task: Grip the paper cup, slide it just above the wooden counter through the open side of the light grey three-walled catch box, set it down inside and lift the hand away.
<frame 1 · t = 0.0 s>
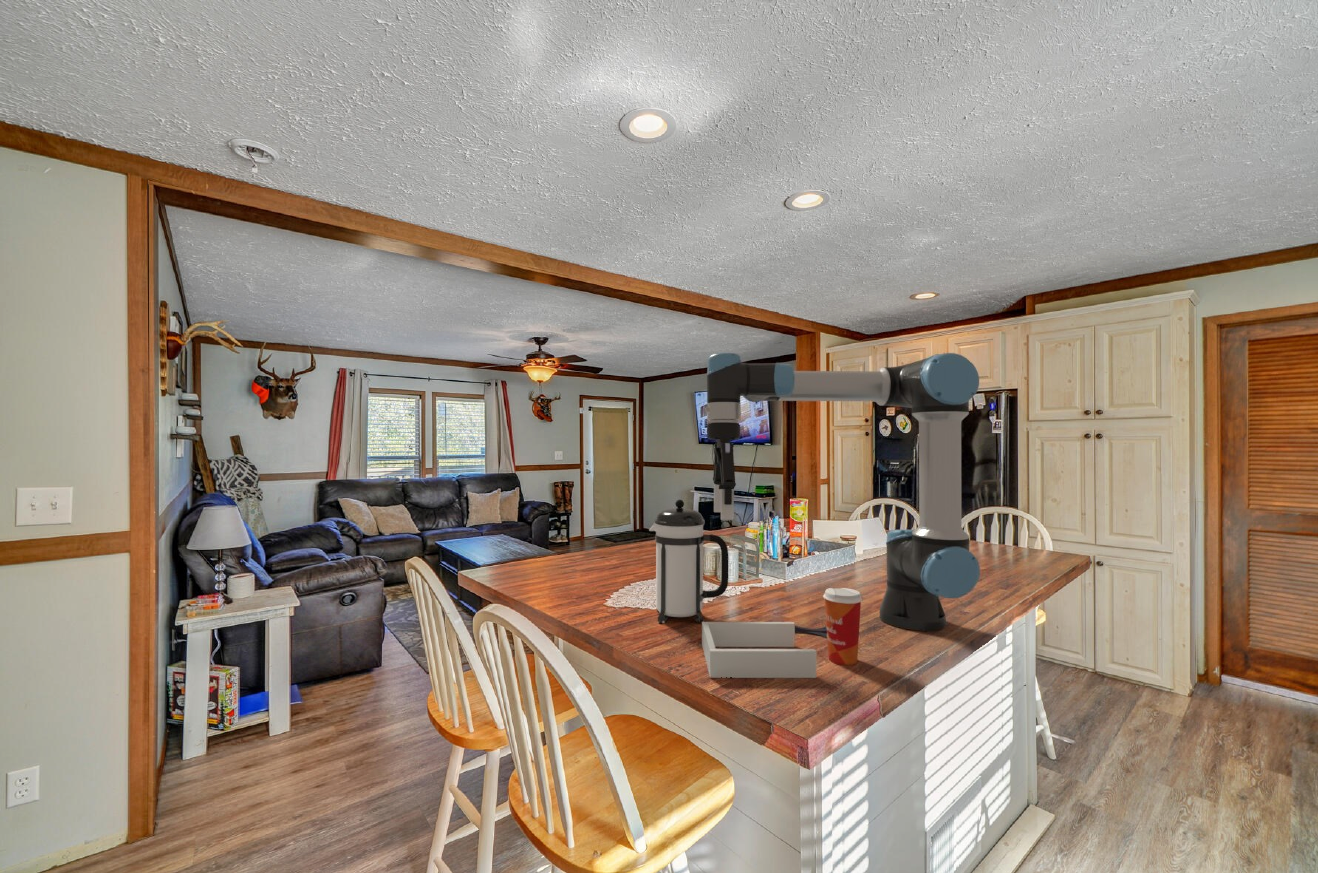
hand: (723, 515, 126), 28 cm above the table, tool pointing down, fingers open, 13 cm apart
catch box: (760, 660, 114), on the table
paper cup: (842, 661, 114), on the table
coffee press: (684, 617, 142), on the table
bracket: (809, 635, 131), on the table
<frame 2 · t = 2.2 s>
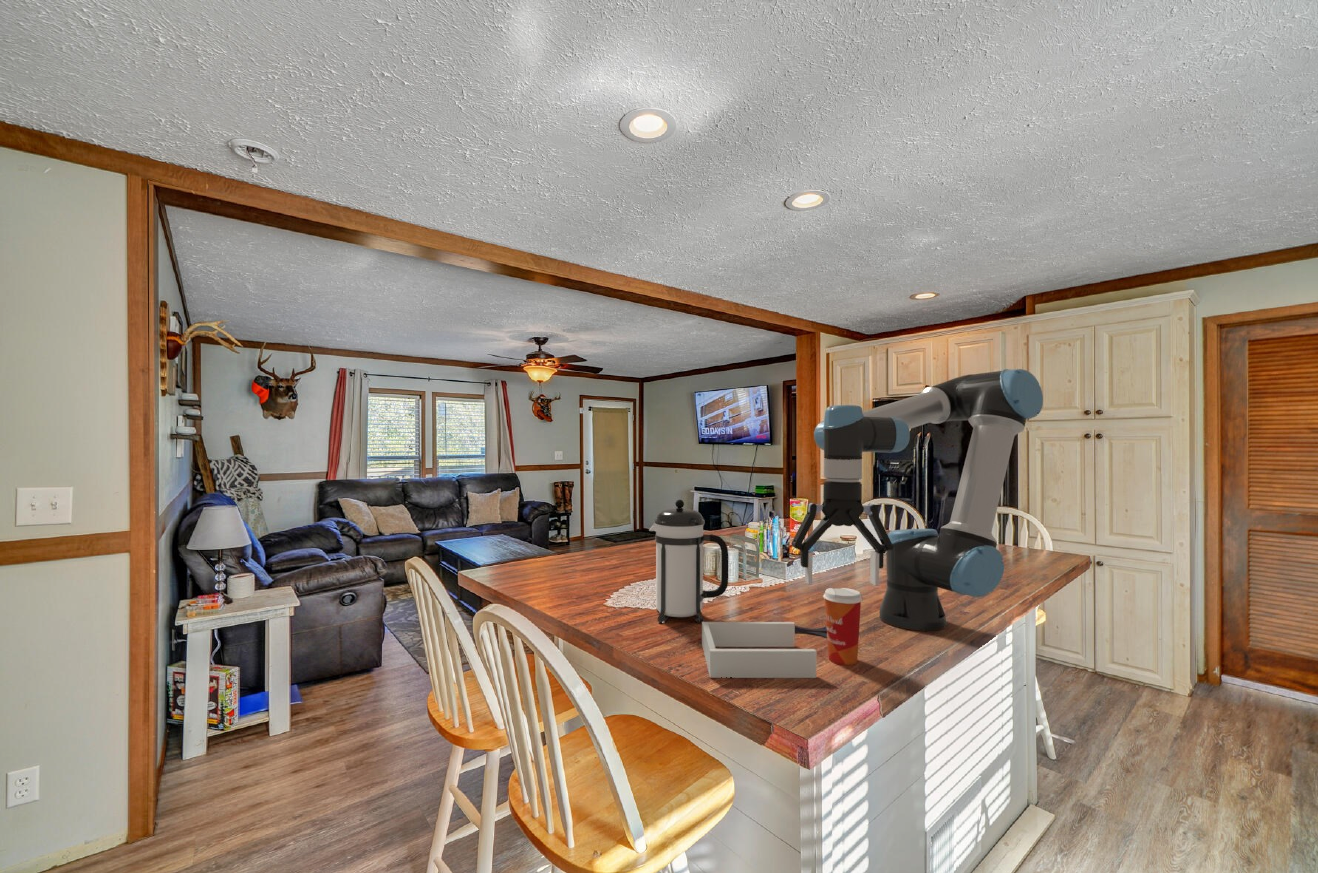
hand: (841, 584, 114), 16 cm above the table, tool pointing down, fingers open, 13 cm apart
nothing on the table moved.
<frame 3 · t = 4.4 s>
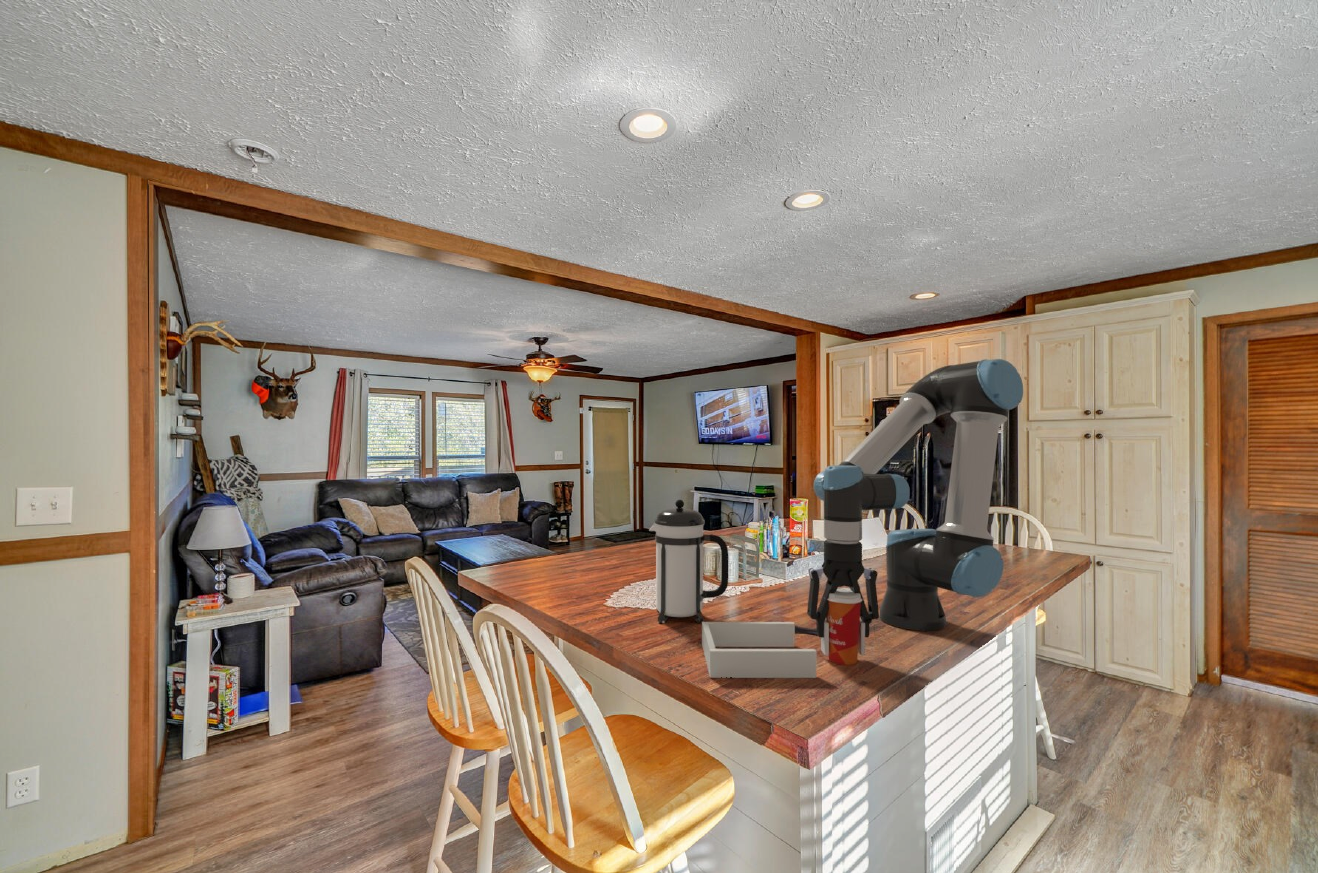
hand: (842, 652, 114), 2 cm above the table, tool pointing down, fingers closed on paper cup, 7 cm apart
paper cup: (842, 661, 114), on the table, touching gripper
everything else where it was.
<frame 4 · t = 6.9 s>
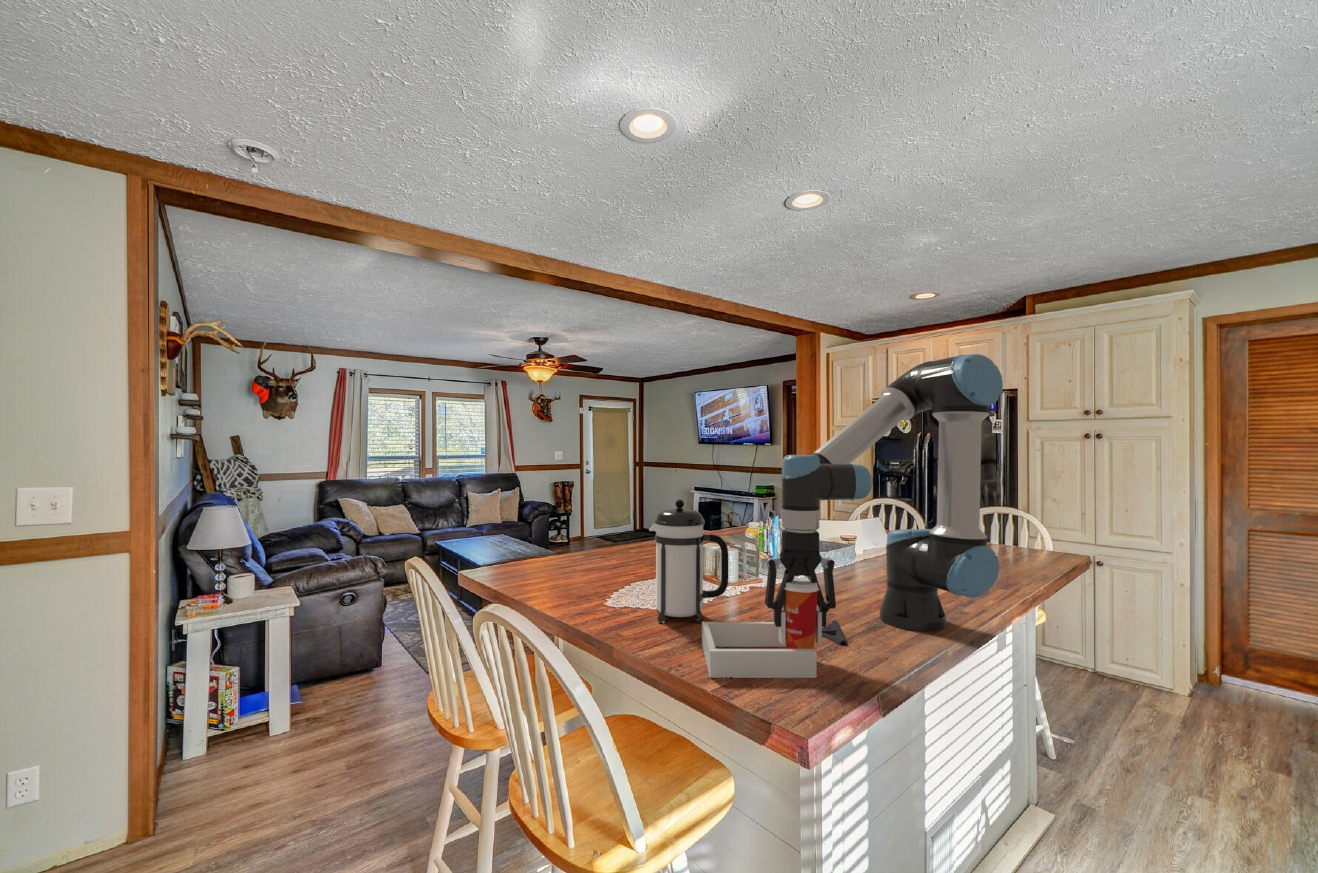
hand: (799, 642, 114), 4 cm above the table, tool pointing down, fingers closed on paper cup, 7 cm apart
paper cup: (799, 650, 114), point 2 cm above the table, touching gripper
everything else where it was.
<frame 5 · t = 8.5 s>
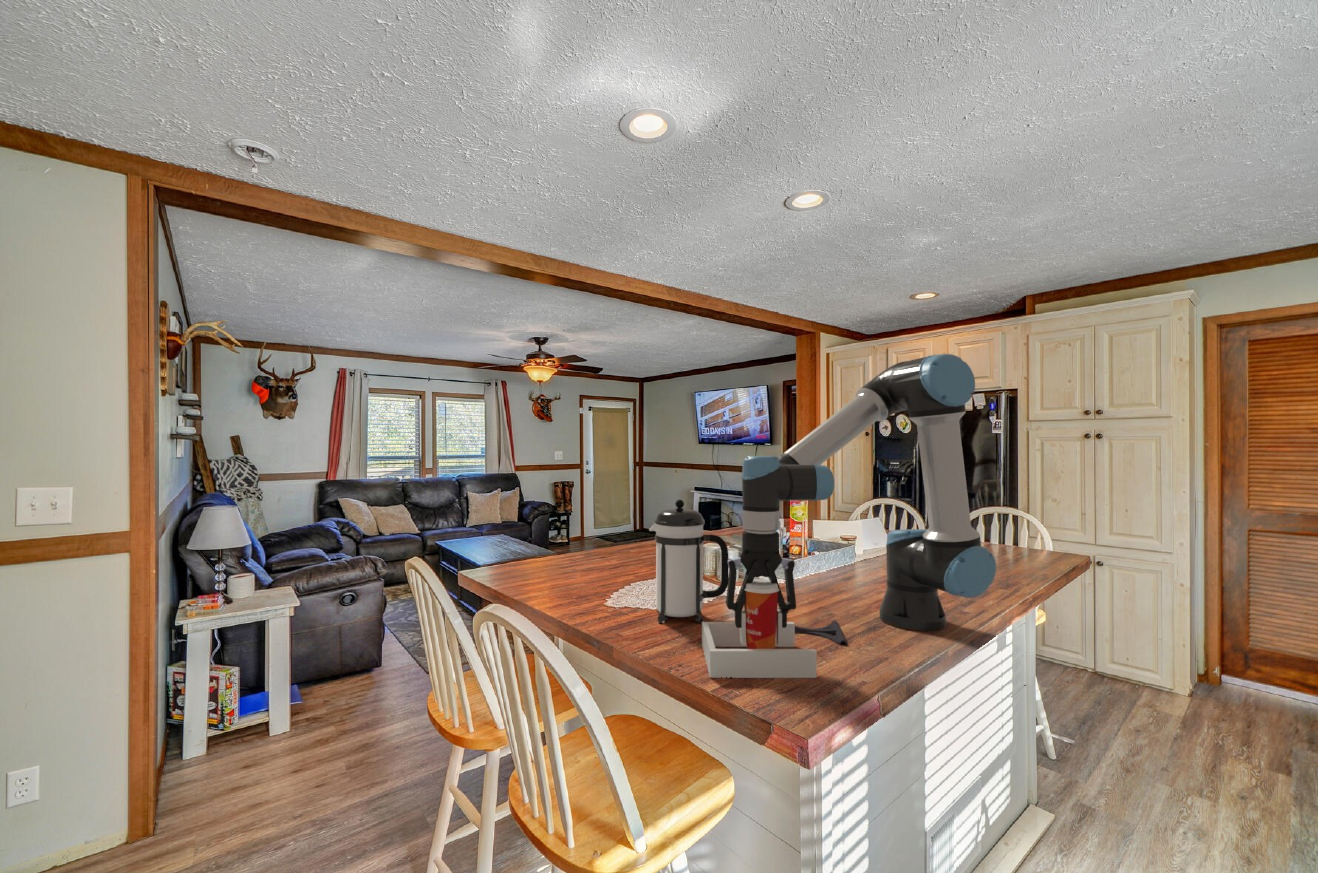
hand: (760, 643, 114), 3 cm above the table, tool pointing down, fingers closed on paper cup, 7 cm apart
paper cup: (760, 651, 114), point 2 cm above the table, touching gripper
everything else where it was.
when the fingers open (2 cm above the table, at t = 9.6 s): paper cup stays where it is, on the table.
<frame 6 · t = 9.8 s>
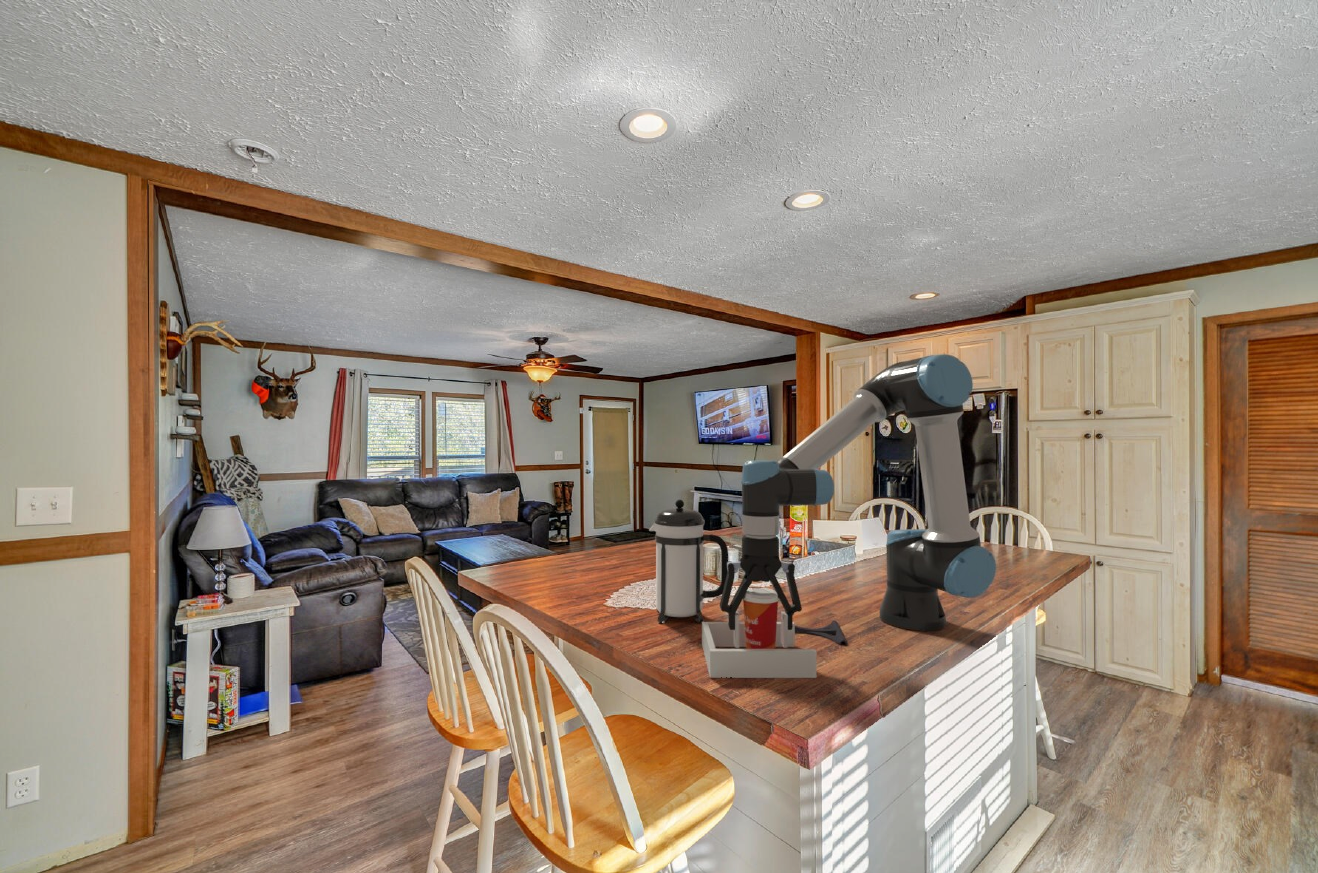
hand: (760, 645, 114), 3 cm above the table, tool pointing down, fingers open, 9 cm apart
paper cup: (760, 661, 114), on the table
everything else where it was.
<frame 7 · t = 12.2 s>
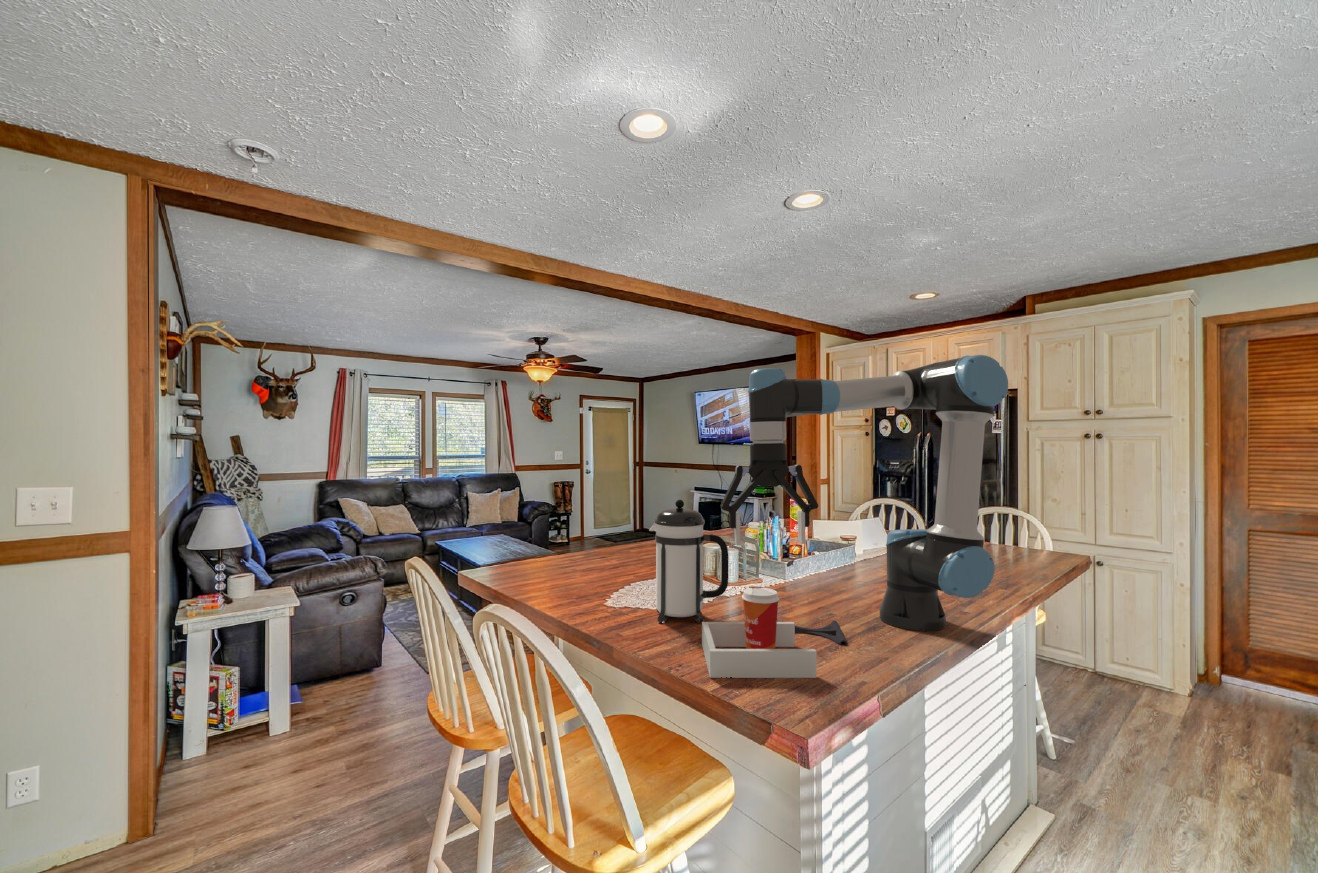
hand: (769, 543, 117), 23 cm above the table, tool pointing down, fingers open, 13 cm apart
nothing on the table moved.
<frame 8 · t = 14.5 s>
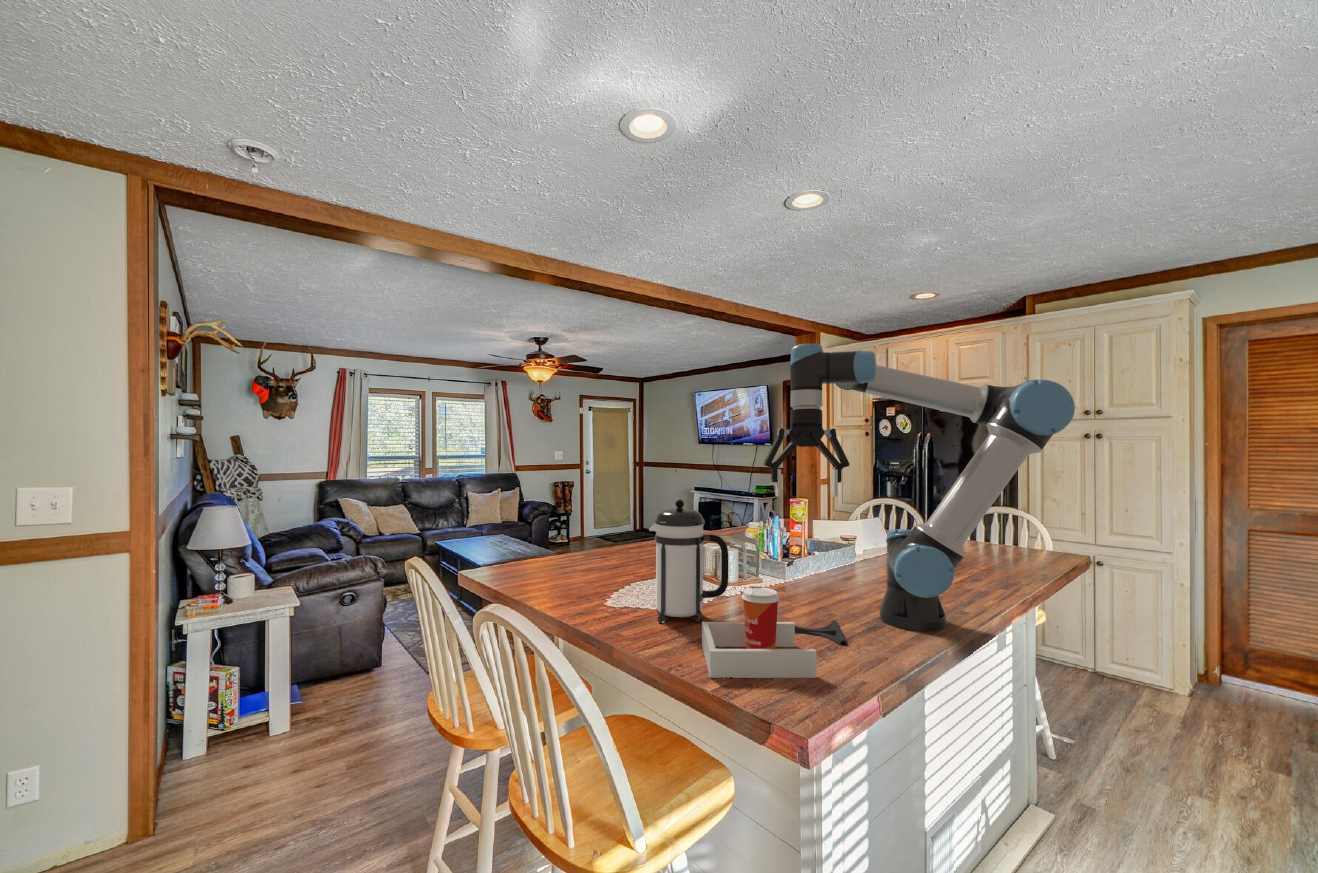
hand: (806, 496, 134), 32 cm above the table, tool pointing down, fingers open, 13 cm apart
nothing on the table moved.
at the end: paper cup inside the target area on the catch box (0.6 cm from its centre), point 0.0 cm above the catch box's base; paper cup tilted 0°; the gripper is holding nothing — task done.
